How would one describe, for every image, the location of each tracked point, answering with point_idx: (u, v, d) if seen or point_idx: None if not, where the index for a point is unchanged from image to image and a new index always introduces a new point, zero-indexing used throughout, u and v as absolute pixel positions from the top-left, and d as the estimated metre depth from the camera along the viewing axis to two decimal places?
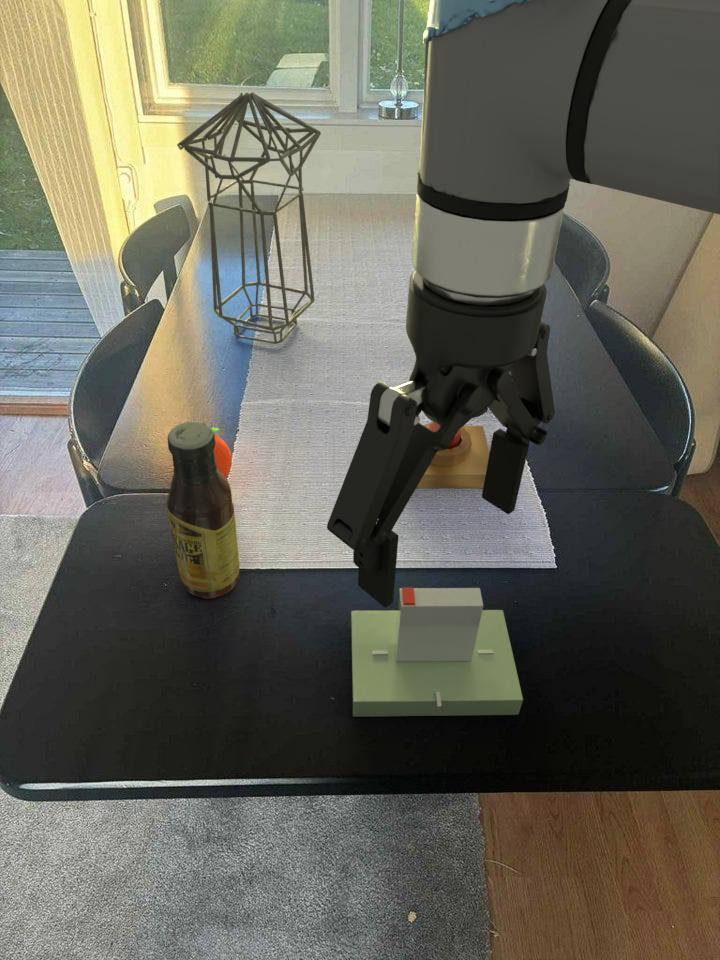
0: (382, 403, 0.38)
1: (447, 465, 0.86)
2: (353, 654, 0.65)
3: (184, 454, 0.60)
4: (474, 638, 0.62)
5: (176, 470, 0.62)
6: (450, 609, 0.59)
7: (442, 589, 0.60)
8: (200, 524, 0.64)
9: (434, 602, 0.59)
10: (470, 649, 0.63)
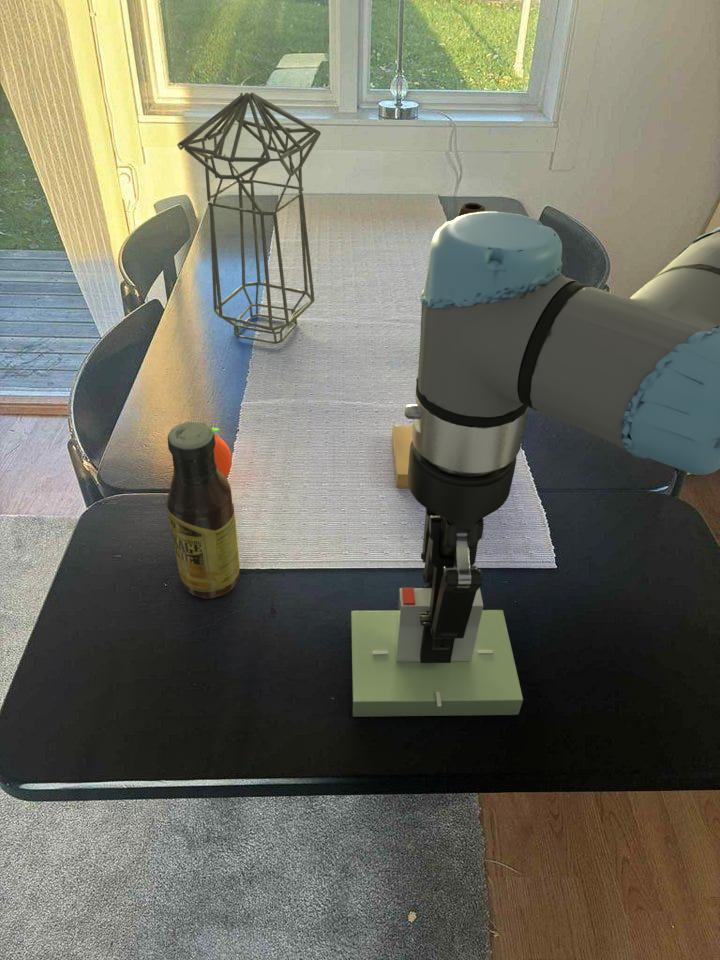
0: (460, 586, 0.49)
1: None
2: (353, 654, 0.65)
3: (184, 454, 0.60)
4: (474, 638, 0.62)
5: (176, 470, 0.62)
6: None
7: None
8: (200, 524, 0.64)
9: None
10: (470, 649, 0.63)
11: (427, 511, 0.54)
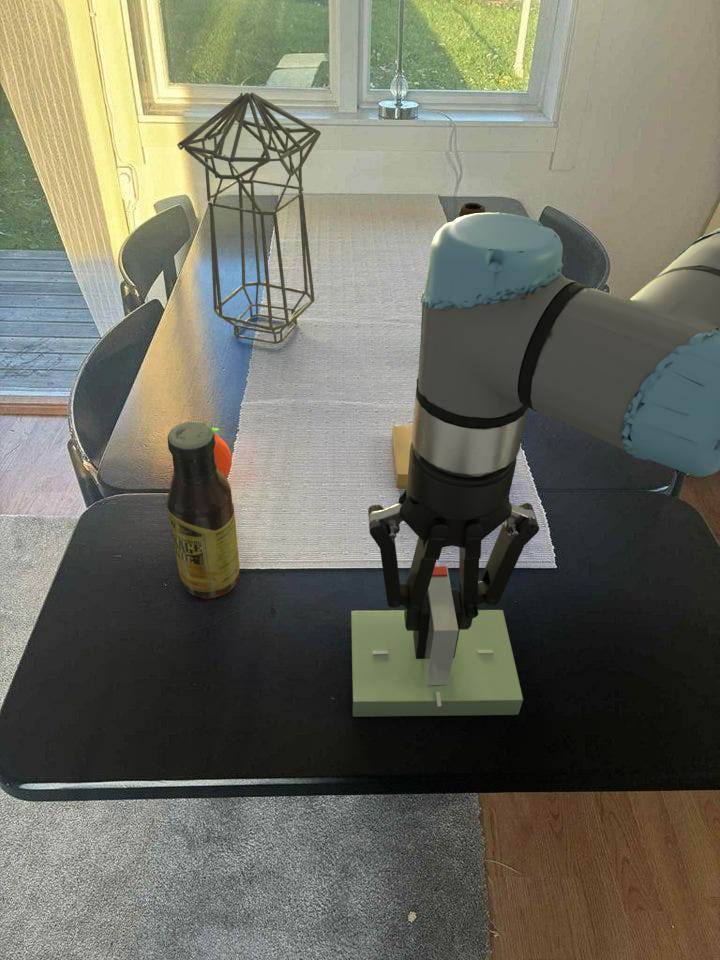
0: None
1: None
2: (353, 654, 0.65)
3: (184, 454, 0.60)
4: (429, 661, 0.60)
5: (176, 470, 0.62)
6: (430, 607, 0.59)
7: (451, 598, 0.60)
8: (200, 524, 0.64)
9: (432, 591, 0.60)
10: (427, 670, 0.61)
11: None
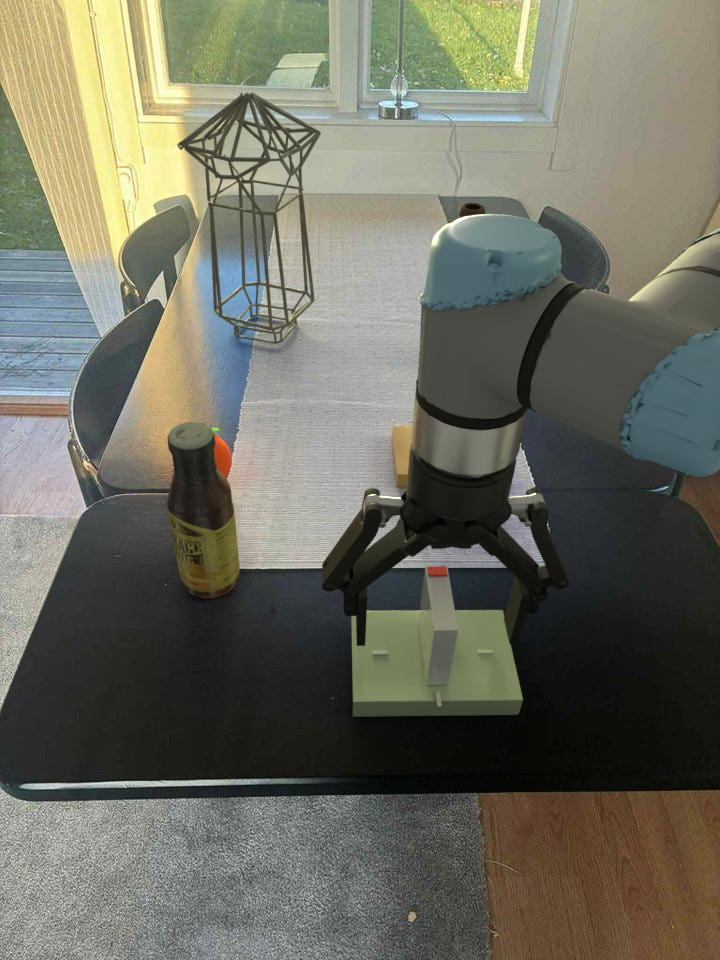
0: (364, 502, 0.53)
1: None
2: (353, 654, 0.65)
3: (184, 454, 0.60)
4: (429, 661, 0.60)
5: (176, 470, 0.62)
6: (430, 607, 0.59)
7: (451, 598, 0.60)
8: (200, 524, 0.64)
9: (432, 591, 0.60)
10: (427, 670, 0.61)
11: None
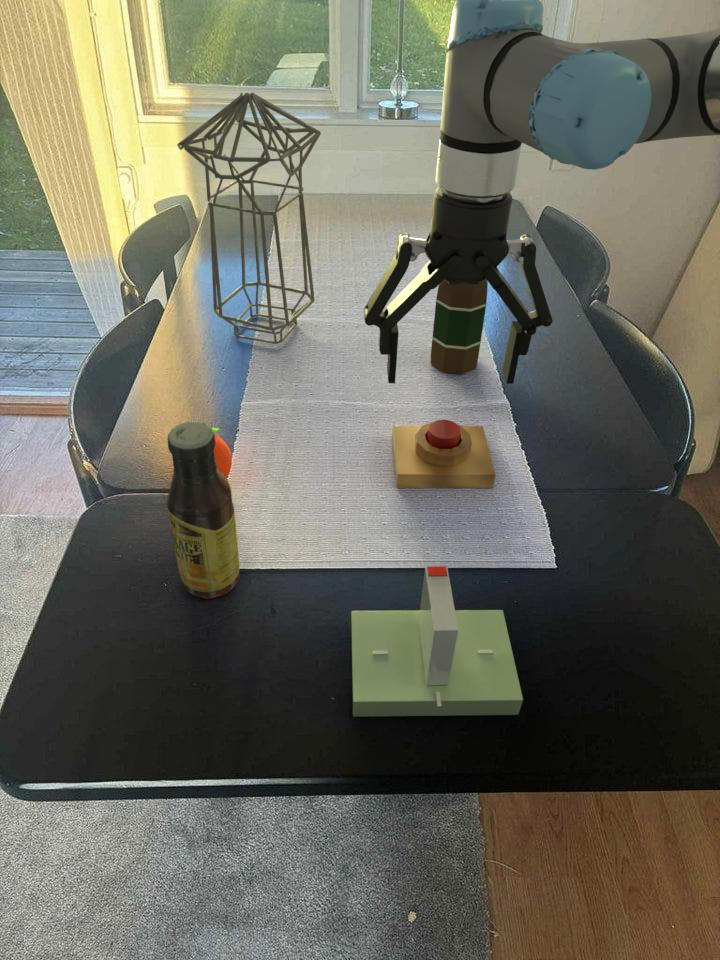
0: (399, 242, 0.70)
1: (447, 465, 0.86)
2: (353, 654, 0.65)
3: (184, 454, 0.60)
4: (429, 661, 0.60)
5: (176, 470, 0.62)
6: (430, 607, 0.59)
7: (451, 598, 0.60)
8: (200, 524, 0.64)
9: (432, 591, 0.60)
10: (427, 670, 0.61)
11: None
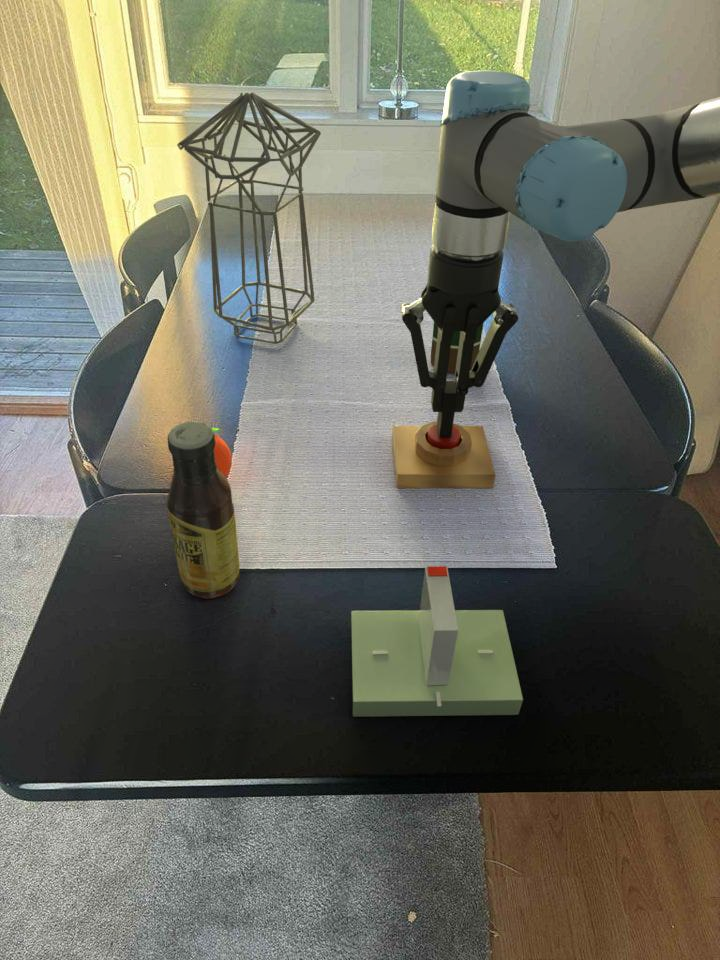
0: None
1: (447, 465, 0.86)
2: (353, 654, 0.65)
3: (184, 454, 0.60)
4: (429, 661, 0.60)
5: (176, 470, 0.62)
6: (430, 607, 0.59)
7: (451, 598, 0.60)
8: (200, 524, 0.64)
9: (432, 591, 0.60)
10: (427, 670, 0.61)
11: None
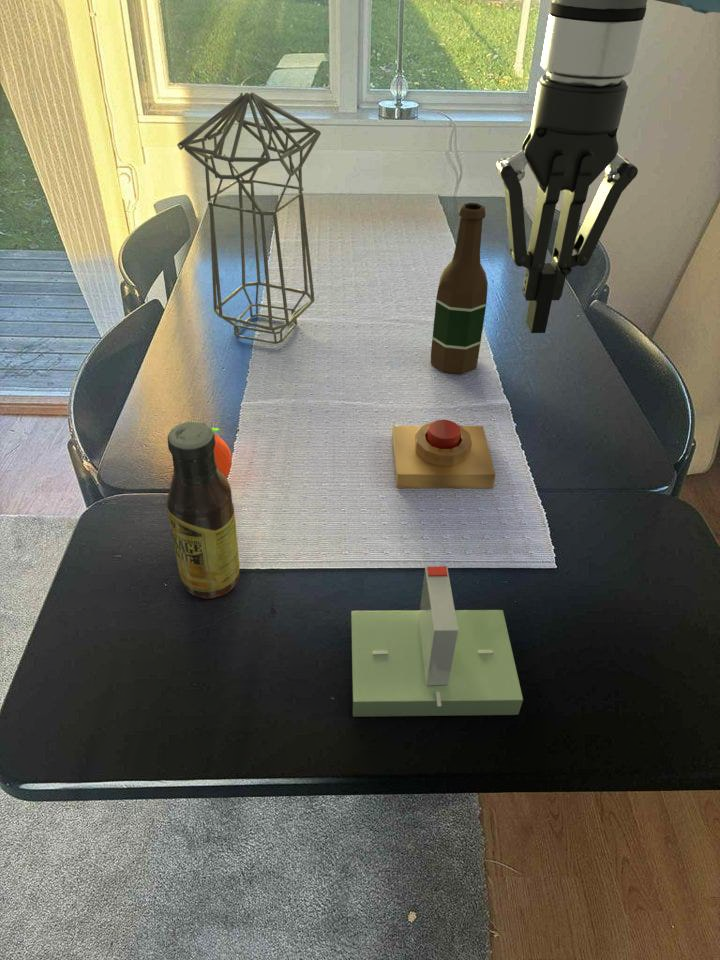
0: (498, 172, 0.65)
1: (447, 465, 0.86)
2: (353, 654, 0.65)
3: (184, 454, 0.60)
4: (429, 661, 0.60)
5: (176, 470, 0.62)
6: (430, 607, 0.59)
7: (451, 598, 0.60)
8: (200, 524, 0.64)
9: (432, 591, 0.60)
10: (427, 670, 0.61)
11: None
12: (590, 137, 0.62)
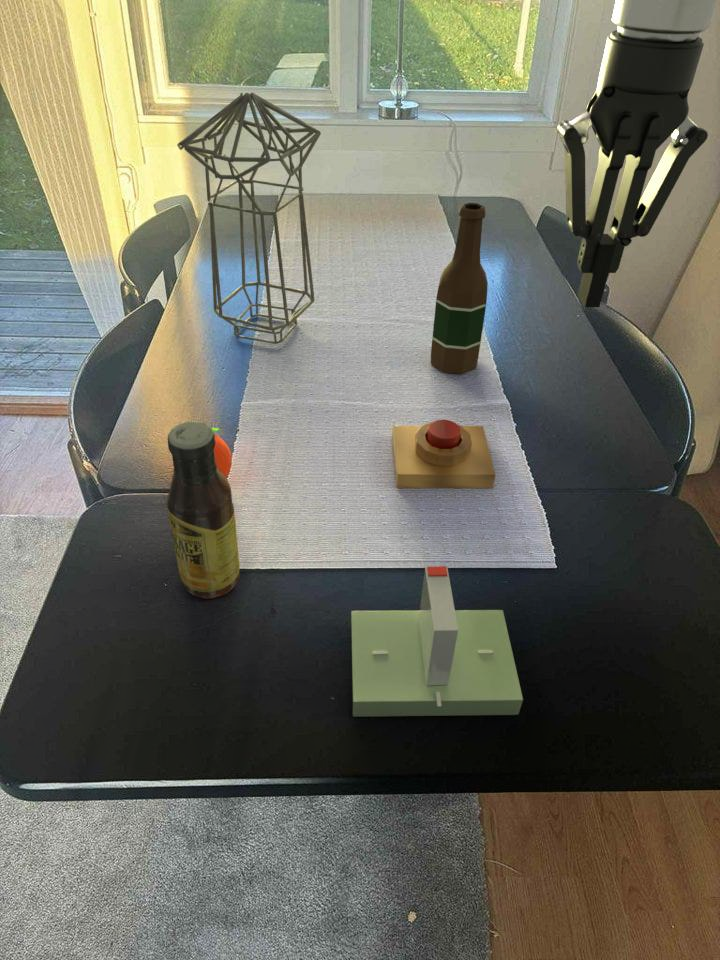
0: (560, 135, 0.62)
1: (447, 465, 0.86)
2: (353, 654, 0.65)
3: (184, 454, 0.60)
4: (429, 661, 0.60)
5: (176, 470, 0.62)
6: (430, 607, 0.59)
7: (451, 598, 0.60)
8: (200, 524, 0.64)
9: (432, 591, 0.60)
10: (427, 670, 0.61)
11: None
12: (660, 98, 0.59)
